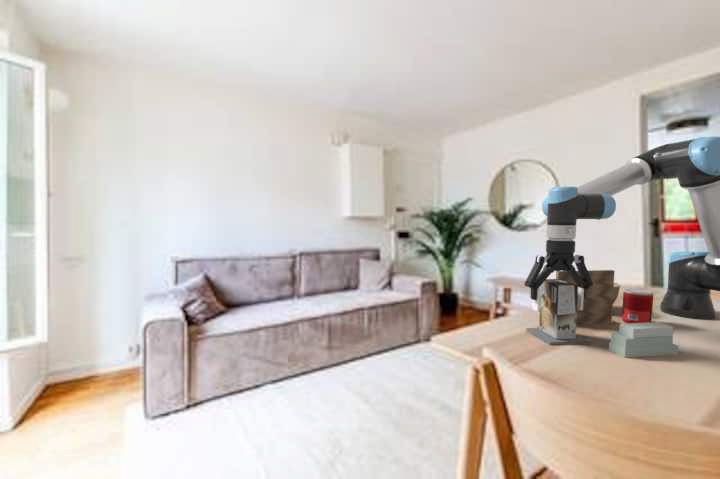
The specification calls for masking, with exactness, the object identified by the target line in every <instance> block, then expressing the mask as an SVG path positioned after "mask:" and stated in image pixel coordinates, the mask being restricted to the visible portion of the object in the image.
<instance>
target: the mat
mask: <svg viewBox="0 0 720 479" xmlns="http://www.w3.org/2000/svg"><path fill="white" fill-rule="evenodd" d="M526 330H527V332H528V333H529V332H530V333H529V334H531V335H532V336H534V335H535V336H534V337H536V338H537V339H539V340H540V341H543V342H544V343H546V344H548V345H549V346H552V345H553V346H554V345H555V346H556V345H557V346H558V345H577V344H578V345H579V344H581V345H582V344H589V343H590V340H589V339H587V338H585V337H583V336H580V335H579V334H577V333H576V338H575V339H555V338H554V337H552V336H550V335H548V334H546V333H545V332H543V331H541V330H539V327H526V328H525V331H526Z"/></svg>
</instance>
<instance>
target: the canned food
mask: <svg viewBox="0 0 720 479" xmlns="http://www.w3.org/2000/svg"><path fill="white" fill-rule="evenodd" d="M653 303H654V291H651V290H647V289H641V288H624V289H623V294H622V306H621V307H622V310H621V319H622V322H623V323H624V324H628V323H648V322H652V320H653V305H654V304H653Z"/></svg>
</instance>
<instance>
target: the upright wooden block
mask: <svg viewBox="0 0 720 479" xmlns="http://www.w3.org/2000/svg"><path fill="white" fill-rule="evenodd" d="M587 270H588V273H589V275H590V278H591V280H592V282H593V285H592V286H589V289H586V297H585V299H583V310H578V309H577V321H576V325H592V324H593V325H594V324H595V325H598V324H599V325H600V324H612V319H613V318H612V317H613V305H614V303H613V288H614V282H615V270H614V269H599V270H598V269H597V270H596V269H594V270H591V269H590V270H589V269H587ZM576 271H577V273H578V274H579V271H578V270H576ZM579 275H580V274H579ZM580 277H581V276H580ZM555 279H560V280H564V281H567V282H570V283H574V284H576V282H575V281H574V280H573V279H572V277H571V276H570V275H569V273H568V272H567V271H562V270H561V271H555ZM578 287H579V286H578ZM612 304H613V305H612Z"/></svg>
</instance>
